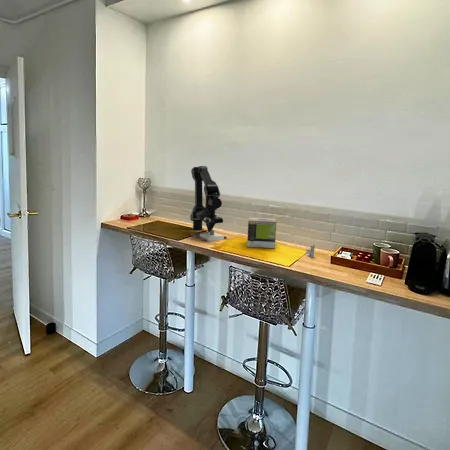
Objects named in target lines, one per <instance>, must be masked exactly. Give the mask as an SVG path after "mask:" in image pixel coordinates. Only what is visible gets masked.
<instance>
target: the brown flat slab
mask: <svg viewBox="0 0 450 450" xmlns="http://www.w3.org/2000/svg"><path fill="white" fill-rule="evenodd" d="M203 233H209V232H208V231H201V232H195V233H194V232H193V233H190V234H189V235H190V237H193V238H195V239H198V240H201V241H203V242H208V241H207V240H206V239H204V238H201V237H200V234H203ZM223 236H224V239H223V240H227V239H228V237H227V236H225V235H223Z"/></svg>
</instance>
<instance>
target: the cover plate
mask: <svg viewBox="0 0 450 450" xmlns="http://www.w3.org/2000/svg"><path fill="white" fill-rule="evenodd" d="M224 236H225V235H223V234H220V233H217V232H215V230H214V229H212V230H210V233H203V234H200V237H201V238H204V239H206V240H207V241H206V242H213V241H214V242H215V241H220V240H221V241H222V240H225V239H224Z"/></svg>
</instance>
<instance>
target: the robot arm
mask: <svg viewBox="0 0 450 450" xmlns="http://www.w3.org/2000/svg"><path fill="white" fill-rule="evenodd" d="M190 174H191V178H192V179H193V181H194V206H193V208H192V211H191V213H190V216H189V219H190V221H192V228H190V229H191V230H193V231H203V230H204V228H203V222H204V223H205V225H206V229H207V232H209V233H210V230H214V227H215V225H216V224H223V223H224V219H223V218H222V217H220V216H217V214H216V211H217V210H218V209H220V208H221V207H222V204H223V202H222V199H221V198H220V197H221V192H220V189H219V186H218V184H217V183H216V181H214V180H213V179H212V177H211V175H210V172H209V169H208V166H206V165H199V166H193V167H192V168H191V173H190ZM203 184H204V186H203ZM203 192H204V195H205V207H204V203H203Z"/></svg>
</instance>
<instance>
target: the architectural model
mask: <svg viewBox="0 0 450 450" xmlns="http://www.w3.org/2000/svg"><path fill="white" fill-rule="evenodd" d="M315 246H316V245H315V244H312V245H310V248H308V247H307V246H306V248H305V251H306V252H307V253H305V256H306V257H310V259H312V258H314V256H315Z"/></svg>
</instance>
